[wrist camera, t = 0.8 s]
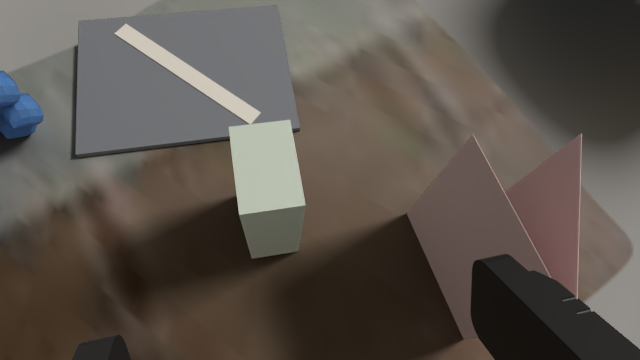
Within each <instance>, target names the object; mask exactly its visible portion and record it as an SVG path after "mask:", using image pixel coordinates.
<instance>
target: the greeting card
mask: <svg viewBox="0 0 640 360" xmlns="http://www.w3.org/2000/svg"><path fill="white" fill-rule="evenodd" d="M581 148H582V134H580V135H579V136H577V137H576V138H575V139H574V140H572V141H571V142H570V143H568V144H567V145H566V146H564V147H563V148H562V149H560V150H559V151H558V152H557V153H555V154H554V155H553V156H551V157H550V158H549V159H547V160H546V161H545V162H544V163H542V164H541V165H540V166H538V167H537V168H536V169H534V170H533V171H532V172H530V173H529V174H528V175H527V176H525V177H524V178H523V179H521V180H520V181H519V182H517V183H516V184H515V185H514V186H512V187H511V188H510V189H508V190H507V191H506V192H504V190H503V188H502V186H501V184H500V183H499V181H498V179H497V177H496V175H495V173H494V172H493V170H492V168H491V166H490V164H489V162H488V161H487V159H486V157H485V155H484V153H483V151H482V150H481V148H480V146H479V144H478V142H477V140H476V139H475V137H474V135H473V134H472V135H471V137H470V138H469V139H468V140H467V141H466V143H465V144H464V145H463V146H462V147H461V149H460V150H459V151H458V152H457V153H456V155H455V156H454V157H453V158H452V159H451V161H450V162H449V163H448V164H447V165H446V167H445V168H444V169H443V170H442V171H441V173H440V174H439V175H438V176H437V177H436V179H435V180H434V181H433V182H432V183H431V185H430V186H429V187H428V188H427V189H426V191H425V192H424V193H423V194H422V195H421V197H420V198H419V199H418V200H417V201H416V203H415V204H414V205H413V206H412V207H411V209H410V210H409V211H408V212H407V216H408V218H409V220H410V222H411V224H412V227H413V229H414V231H415V233H416V235H417V238H418V240H419V242H420V244H421V247H422V249H423V251H424V253H425V255H426V258H427V260H428V262H429V264H430V266H431V269H432V271H433V273H434V275H435V277H436V280H437V282H438V284H439V286H440V288H441V291H442V293H443V295H444V297H445V299H446V302H447V304H448V306H449V308H450V310H451V313H452V315H453V317H454V319H455V322H456V324H457V326H458V328H459V330H460V333H461V335H462V337H463V339H470V338H478V336H477V334H476V332H475V330H474V327H473V324H472V320H471V311H470V310H471V283H472V266H473V263H474V261H476V260H479V259H483V258H488V257H493V256H497V255H502V254H508V255H510V256H512V257H513V258H514V259H515V260H516V261H518V262H519V263H520V264H521V265H522V266H523V267H524V268H526V269H527V270H528V271H532V270H535V271H537V272H539V273H541V274H544V275H546V276H548V277H550V278H552V279H554V280H556V281H558V282H559V283H560V284H562V285H563V286H564V287H565V288H566V289H568V290H569V291H570V292H571V293H572V294H574V295H575V298H576V299H577V295H578V259H579V223H580V187H581V150H582V149H581Z"/></svg>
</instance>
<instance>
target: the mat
mask: <svg viewBox="0 0 640 360" xmlns="http://www.w3.org/2000/svg"><path fill="white" fill-rule="evenodd" d="M282 120H290V121H291V127H292V132H294V131H300V125H299V119H298V114H297V108H296V103H295V98H294V92H293V87H292V82H291V76H290V71H289V66H288V60H287V55H286V50H285V44H284V39H283V33H282V28H281V23H280V17H279V12H278V7H277V5H271V6H259V7H246V8H234V9H221V10H208V11H196V12H183V13H171V14H158V15H146V16H133V17H121V18H108V19H96V20H83V21H79V28H78V69H77V110H76V152H75V155H76V156H77V157H78V158H79V157H88V156H96V155H104V154H112V153H121V152H129V151H137V150H145V149H154V148H162V147H170V146H178V145H187V144H195V143H203V142H211V141H220V140H228V139H230V135H229V127H231V126H240V125H248V124H257V123H265V122H274V121H282Z"/></svg>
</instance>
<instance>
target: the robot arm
mask: <svg viewBox="0 0 640 360" xmlns="http://www.w3.org/2000/svg"><path fill="white" fill-rule="evenodd" d="M470 311H471V320H472V324H473V327H474V330H475V332H476V334H477V336H478V338H479V339H480V341H481V342H482V343H483V345H484V346H485V347H486V348H487V350H488V351H489V352H490V354H491V355H492V356H493V358H494V359H495V360H640V349H639V348H638V347H636V346H635V345H634V344H633V343H632V342H630V341H629V340H628V339H627V338H626V337H624V336H623V335H622V334H621V333H619V332H618V331H617V330H615V328H613V327H612V326H611V325H610V324H609V323H607V322H606V321H605V320H604V319H603V318H601V317H600V316H599V315H598V314H597V313H595V312H594V311H593V312H591V310H590V308H589V307H588V306H587V305H586V304H585V303H583V302H582V301H581V300H580V299H576V298H575V295H574V294H572V293H571V292H570V291H569V290H568V289H566V288H565V287H564V286H563V285H562V284H560V283H559V282H558V281H556V280H554V279H552V278H550V277H548V276H546V275H544V274H541V273H539V272H537V271H535V270H532V271H528V270H527V269H526V268H524V267H523V266H522V265H521V264H520V263H519V262H518V261H516V260H515V259H514V258H513V257H512V256H510V255H508V254H502V255H497V256H493V257H488V258H483V259H479V260H476V261H474V263H473V266H472V283H471V310H470ZM72 360H131V358H130V355H129V352H128V350H127V347H126V344H125V341H124V339H123V338H122V336H120V335H116V336H111V337H107V338H102V339H97V340H93V341H88V342H83V343H81V344H80V345H79V346H78V348H77V349H76V352H75V354H74V357H73V359H72Z"/></svg>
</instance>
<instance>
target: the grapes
mask: <svg viewBox="0 0 640 360" xmlns="http://www.w3.org/2000/svg"><path fill="white" fill-rule="evenodd" d="M43 116H44V115H43V113H42V110H41V108H40V106H39V105H38V103H37V102H36V101H35V100H34V99H33V98H32V97H31V96H30V95H29V94H20V92H19V89H18V87H17V85H16V83H15V82H14V81H13V80H12V79H11V78H10V76H9V75H8V74H7V73H5V72H4V71H0V132H1V133H2V134H3V135H4V136H5V137H6V138H7V139H12V138H19V137H24V136H28V135H30V134H32V133H33V132H35V129H36V125H37V124H39V123H41V122H42V120H43Z"/></svg>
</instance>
